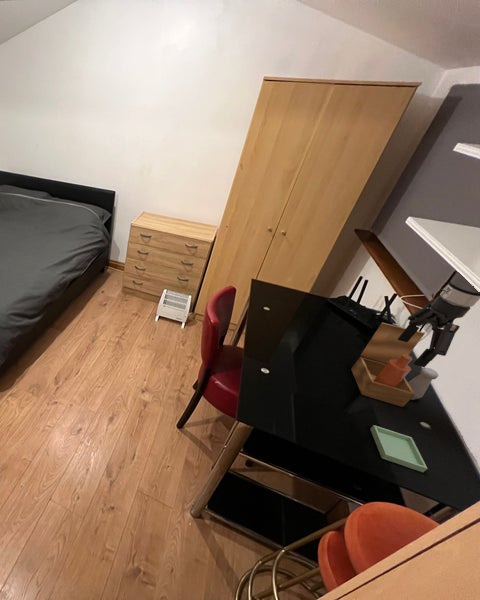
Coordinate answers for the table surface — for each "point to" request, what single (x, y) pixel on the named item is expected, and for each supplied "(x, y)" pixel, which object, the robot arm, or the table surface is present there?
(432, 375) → the salt shaker
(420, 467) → the tray
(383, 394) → the chest
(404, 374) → the bottle
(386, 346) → the lid
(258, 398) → the table surface
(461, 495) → the table surface
